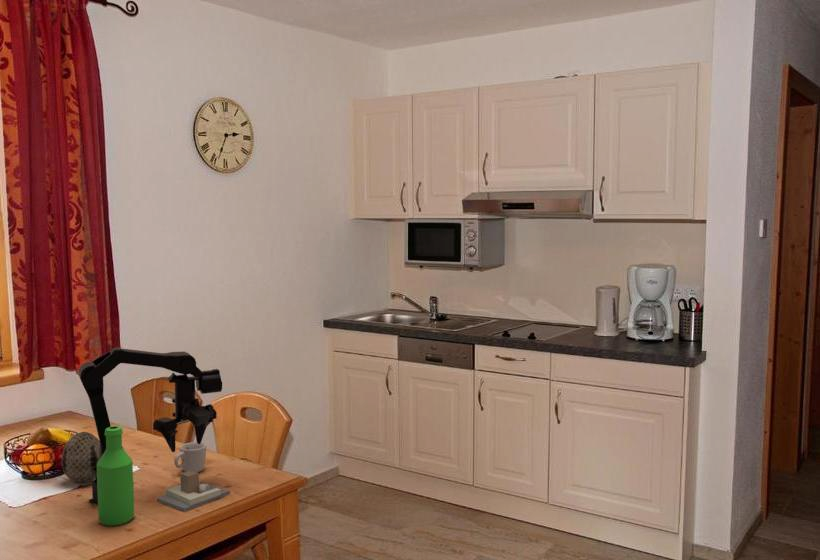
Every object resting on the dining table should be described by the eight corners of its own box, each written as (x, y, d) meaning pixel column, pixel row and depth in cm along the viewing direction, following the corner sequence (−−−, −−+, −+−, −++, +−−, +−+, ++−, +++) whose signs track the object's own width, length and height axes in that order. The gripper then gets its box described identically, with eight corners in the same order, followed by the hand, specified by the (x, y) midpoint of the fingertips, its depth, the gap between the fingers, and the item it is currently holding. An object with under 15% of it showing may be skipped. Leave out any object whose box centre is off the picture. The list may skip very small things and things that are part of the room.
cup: (183, 479, 230) (182, 454, 229) (167, 473, 235) (166, 448, 234) (212, 469, 239) (211, 445, 238) (196, 464, 243) (195, 440, 243)
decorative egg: (54, 482, 227) (52, 433, 225) (91, 471, 236) (89, 424, 235) (75, 491, 220) (73, 441, 218) (112, 480, 229) (111, 431, 228)
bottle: (112, 529, 194) (109, 434, 192) (91, 522, 199) (88, 429, 196) (141, 518, 202) (138, 426, 199) (120, 511, 206) (117, 421, 204)
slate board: (184, 511, 206) (184, 497, 206) (156, 501, 213) (156, 487, 212) (230, 493, 219) (229, 480, 219) (202, 484, 226) (202, 471, 225)
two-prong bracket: (190, 505, 208) (189, 482, 207) (165, 494, 215) (164, 472, 215) (220, 494, 215) (220, 472, 215) (195, 484, 223) (195, 463, 222)
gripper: (176, 406, 209) (177, 461, 210) (228, 393, 224) (229, 444, 225) (151, 400, 215) (152, 454, 217) (203, 387, 230) (204, 438, 232)
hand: (186, 447), depth 223 cm, fingers open, 9 cm apart
